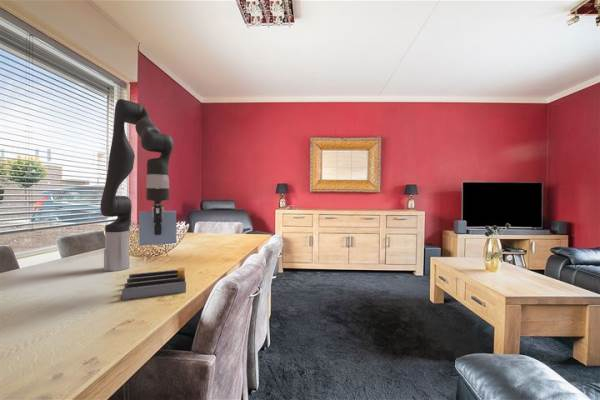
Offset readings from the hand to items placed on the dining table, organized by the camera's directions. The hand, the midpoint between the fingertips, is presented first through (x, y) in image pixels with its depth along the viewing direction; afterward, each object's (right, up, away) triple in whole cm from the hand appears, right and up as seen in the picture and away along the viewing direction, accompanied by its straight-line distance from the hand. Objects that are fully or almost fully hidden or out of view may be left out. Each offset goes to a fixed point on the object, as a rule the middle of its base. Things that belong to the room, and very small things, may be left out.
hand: (158, 234), depth 101 cm
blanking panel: (0, -4, 0) cm, 4 cm away
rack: (0, -20, 0) cm, 20 cm away
